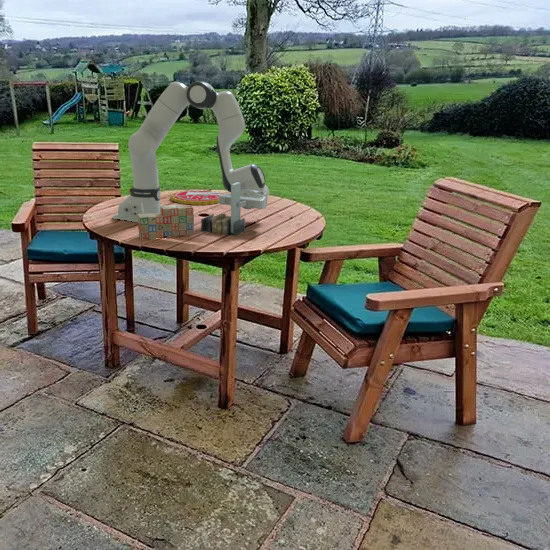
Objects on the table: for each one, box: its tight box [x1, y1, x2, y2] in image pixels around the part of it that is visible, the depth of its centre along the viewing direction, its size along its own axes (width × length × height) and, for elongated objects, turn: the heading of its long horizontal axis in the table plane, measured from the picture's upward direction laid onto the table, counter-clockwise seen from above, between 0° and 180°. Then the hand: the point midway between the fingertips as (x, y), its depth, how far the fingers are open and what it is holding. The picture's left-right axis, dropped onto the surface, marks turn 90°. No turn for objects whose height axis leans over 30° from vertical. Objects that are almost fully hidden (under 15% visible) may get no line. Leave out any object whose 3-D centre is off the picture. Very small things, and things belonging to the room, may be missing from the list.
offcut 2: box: [215, 215, 231, 235], centre depth 221 cm, size 2×10×5 cm, turn 159°
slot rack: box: [200, 213, 248, 237], centre depth 221 cm, size 17×11×6 cm, turn 69°
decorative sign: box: [169, 189, 224, 206], centre depth 284 cm, size 30×3×30 cm
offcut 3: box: [222, 215, 231, 234], centre depth 220 cm, size 2×8×6 cm, turn 159°
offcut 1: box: [212, 213, 227, 234], centre depth 222 cm, size 2×9×6 cm, turn 159°
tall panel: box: [230, 182, 242, 233], centre depth 217 cm, size 2×6×20 cm, turn 159°
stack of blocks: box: [137, 204, 195, 241], centre depth 212 cm, size 21×6×12 cm, turn 111°
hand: (234, 204), depth 216 cm, fingers closed on tall panel, 1 cm apart
